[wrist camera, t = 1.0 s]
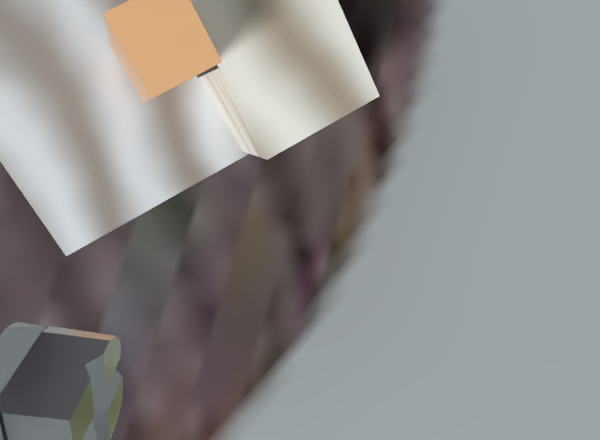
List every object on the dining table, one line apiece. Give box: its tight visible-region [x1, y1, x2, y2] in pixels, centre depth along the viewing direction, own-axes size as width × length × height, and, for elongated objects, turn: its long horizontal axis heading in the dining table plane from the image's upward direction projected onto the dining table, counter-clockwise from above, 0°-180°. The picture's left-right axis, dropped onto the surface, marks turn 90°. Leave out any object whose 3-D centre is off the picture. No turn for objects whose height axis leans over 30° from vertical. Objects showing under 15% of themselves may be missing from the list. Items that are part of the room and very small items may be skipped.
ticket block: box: [0, 0, 379, 256], centre depth 33 cm, size 22×17×9 cm
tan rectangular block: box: [103, 0, 222, 103], centre depth 30 cm, size 4×4×13 cm
